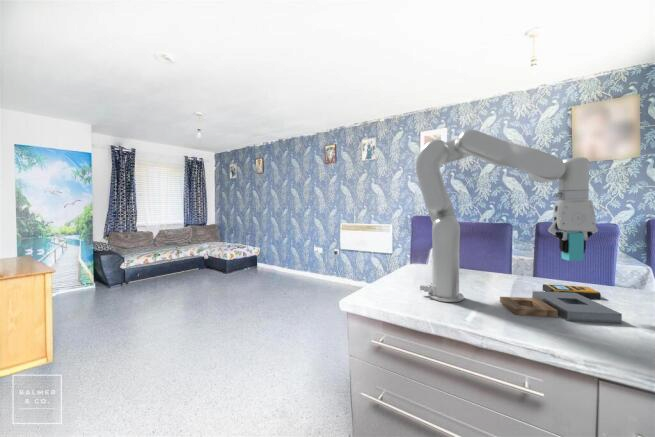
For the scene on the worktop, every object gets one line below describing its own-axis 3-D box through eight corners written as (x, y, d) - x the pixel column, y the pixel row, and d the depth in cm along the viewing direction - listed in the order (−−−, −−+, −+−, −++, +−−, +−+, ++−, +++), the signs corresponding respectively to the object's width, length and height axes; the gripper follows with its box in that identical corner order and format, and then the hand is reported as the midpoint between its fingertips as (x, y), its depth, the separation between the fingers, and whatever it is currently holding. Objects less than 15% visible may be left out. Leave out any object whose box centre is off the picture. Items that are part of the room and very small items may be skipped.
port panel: (567, 321, 86) (567, 311, 86) (532, 299, 105) (532, 291, 105) (621, 323, 83) (621, 313, 83) (575, 300, 103) (575, 292, 103)
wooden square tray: (515, 314, 91) (515, 308, 91) (499, 302, 103) (499, 296, 103) (557, 316, 89) (557, 310, 89) (536, 303, 101) (536, 298, 101)
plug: (569, 260, 92) (569, 233, 91) (561, 258, 96) (561, 232, 95) (583, 261, 91) (583, 233, 91) (575, 258, 95) (575, 231, 95)
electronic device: (602, 301, 104) (602, 292, 104) (551, 297, 108) (551, 288, 108) (588, 294, 112) (589, 285, 112) (541, 290, 116) (542, 282, 116)
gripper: (550, 196, 90) (550, 253, 91) (612, 195, 87) (611, 254, 88) (538, 197, 98) (537, 250, 99) (594, 195, 95) (593, 250, 95)
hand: (572, 251), depth 93 cm, fingers closed on plug, 4 cm apart
